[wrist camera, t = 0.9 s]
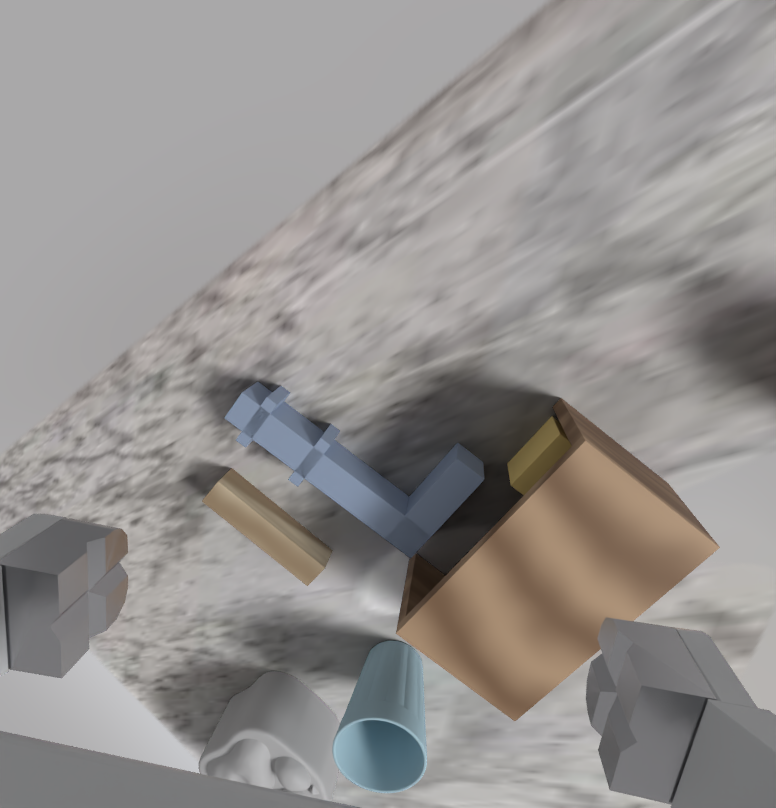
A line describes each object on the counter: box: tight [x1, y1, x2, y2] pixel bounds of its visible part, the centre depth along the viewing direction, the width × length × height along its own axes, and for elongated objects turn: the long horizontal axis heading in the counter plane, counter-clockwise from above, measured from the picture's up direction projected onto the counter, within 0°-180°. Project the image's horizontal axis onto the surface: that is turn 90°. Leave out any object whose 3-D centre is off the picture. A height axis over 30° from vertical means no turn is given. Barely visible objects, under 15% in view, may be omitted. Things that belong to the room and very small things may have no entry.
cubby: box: [396, 398, 720, 721], centre depth 44 cm, size 20×12×10 cm, turn 143°
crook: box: [225, 382, 484, 558], centre depth 47 cm, size 10×19×4 cm, turn 53°
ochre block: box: [507, 416, 572, 495], centre depth 45 cm, size 6×4×4 cm
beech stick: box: [202, 468, 333, 586], centre depth 51 cm, size 3×12×3 cm, turn 50°
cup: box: [332, 641, 427, 793], centre depth 50 cm, size 8×8×10 cm
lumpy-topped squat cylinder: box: [199, 671, 340, 802], centre depth 55 cm, size 10×13×9 cm
